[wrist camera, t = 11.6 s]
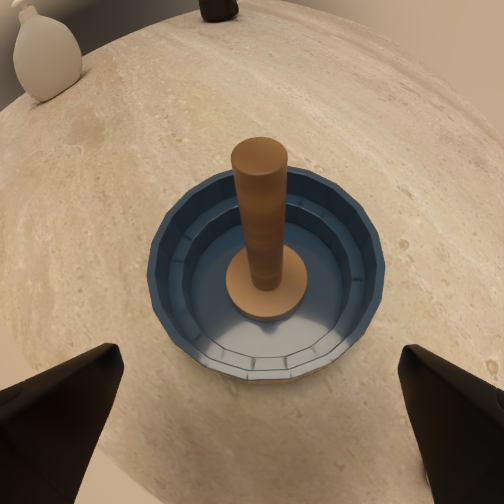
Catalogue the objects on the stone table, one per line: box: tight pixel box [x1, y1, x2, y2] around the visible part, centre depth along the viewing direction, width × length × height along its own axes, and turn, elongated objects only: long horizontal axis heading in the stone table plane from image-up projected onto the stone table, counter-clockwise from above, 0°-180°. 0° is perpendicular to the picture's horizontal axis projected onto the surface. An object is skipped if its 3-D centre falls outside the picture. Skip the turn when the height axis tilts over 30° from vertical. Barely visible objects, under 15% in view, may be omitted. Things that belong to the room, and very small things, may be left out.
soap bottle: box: [11, 0, 82, 101], centre depth 35 cm, size 14×8×27 cm, turn 129°
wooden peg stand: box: [226, 137, 308, 322], centre depth 17 cm, size 6×6×14 cm
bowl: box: [147, 166, 385, 384], centre depth 21 cm, size 15×15×6 cm
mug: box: [199, 0, 239, 22], centre depth 53 cm, size 12×9×7 cm
